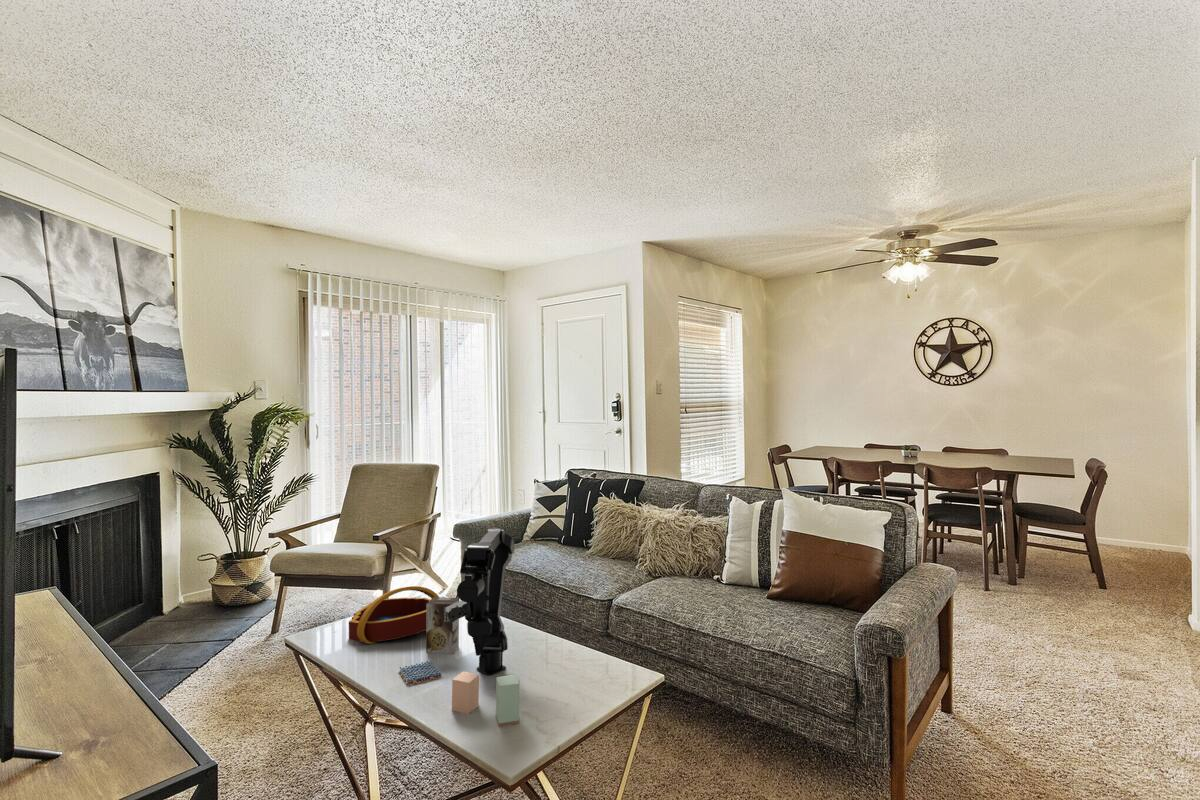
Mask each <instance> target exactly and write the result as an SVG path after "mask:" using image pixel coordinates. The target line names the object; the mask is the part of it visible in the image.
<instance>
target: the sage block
mask: <svg viewBox="0 0 1200 800" xmlns="http://www.w3.org/2000/svg"><path fill="white" fill-rule="evenodd" d="M495 684H496V687H495V689H496V690H495V691H496V692H495V693H496V694H495V718H496V721H497V725H498V727H504V726H513V725H518V724H520V720H519V719H520V681H519V678H518V677H517V674H511V675H503V676H497V677H496V683H495Z"/></svg>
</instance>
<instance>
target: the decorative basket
mask: <svg viewBox="0 0 1200 800" xmlns="http://www.w3.org/2000/svg"><path fill="white" fill-rule="evenodd" d="M405 591H415V592H419V593H422V594H424V595H426V596H428V597H429V598H428V597H427V598H426V597H396V598H389V597H392V596H393V595H395V594H398V593H401V592H405ZM433 597H440V596H439V594H437V593H436V592H435V591H433V590H432V589H430V588H428V587H425V586H424V587H423V586H417V585H416V586H415V585H414V586H413V585H411V586H405V587H400V588H399V587H398V588H396V589H393V590H392V589H391V590H390V591H387V592H386V593H383V594H382V595H379V597H377V598H376V599H374V600H373V601H372V602H371V603H369V604H367V605H365V606H364V607H362V608H360V609H359V610H357V611H356V612H355V613H353V616H351V619H350V620H349V621H348V640H350V641H353V642H362V643H365V644H369V645H372V644H376V643H378V642H382V641H389V640H395V639H400V638H404V637H407V636H413V635H415V634H419V633H422V632H426V604H427V603H428V602H429V601H430V600H431V599H432V598H433Z"/></svg>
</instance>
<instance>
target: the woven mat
mask: <svg viewBox="0 0 1200 800" xmlns="http://www.w3.org/2000/svg"><path fill="white" fill-rule="evenodd" d="M398 674H399V676H400V677H402V680H403V681H404V682H405V684H406V685H407V686H413V685H417V684H418V685H419V684H421V683H426V682H429V681H434V680H437V679H441V678H443V676H442V671H440V668H438V667H437V666H436V665H435V664H434V663H433V662H432V661H427V660H426V662H421V663H416V664H414V665H413V664H411V665H408V666H407V665H405V667H401V666H400V667H399V671H398Z"/></svg>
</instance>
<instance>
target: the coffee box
mask: <svg viewBox="0 0 1200 800" xmlns="http://www.w3.org/2000/svg"><path fill="white" fill-rule="evenodd" d="M430 599H431V598H430ZM459 601H460V599H459V597H440V596H439V597H433V598H432V599H431V600H430V601H429V602H428V603H427V604H426V630H425V632H426V633H425V634H426V636H425V638H426V639H425V640H426V641H425V645H426V646H425V653H427V654H440V655H441V654H443V655H444V654H445V655H453V654H454V653H455V652H456V651H457V649H459V647H460V646H459V645H460V644H459V643H460V642H459V641H460V637H459V635H460V631H459V630H460V618H459V619H457V620H455V621H454V622H451V623H450V622H449V619H448V616H447V613H446V607H448V606H450V605H452V604H454V603H457V602H459Z"/></svg>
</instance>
